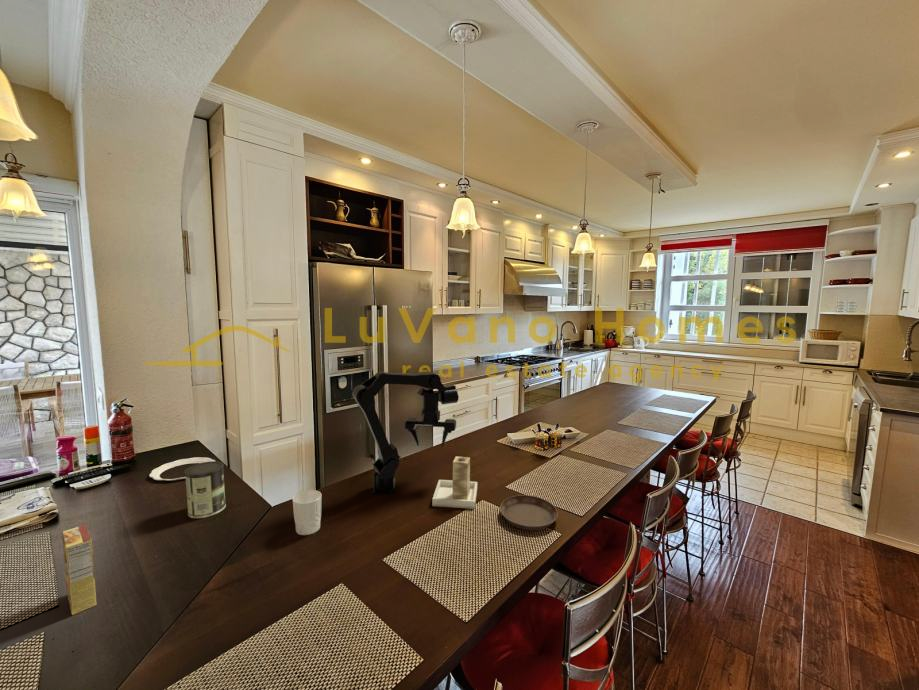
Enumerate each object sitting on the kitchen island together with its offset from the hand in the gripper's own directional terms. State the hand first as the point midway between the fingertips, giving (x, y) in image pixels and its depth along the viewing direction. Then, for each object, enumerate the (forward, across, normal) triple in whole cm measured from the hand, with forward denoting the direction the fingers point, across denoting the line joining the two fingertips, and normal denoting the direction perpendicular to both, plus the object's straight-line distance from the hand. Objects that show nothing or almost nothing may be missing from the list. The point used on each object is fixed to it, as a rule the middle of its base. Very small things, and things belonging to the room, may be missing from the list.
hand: (430, 446), depth 145 cm
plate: (+14, +97, +5) cm, 98 cm away
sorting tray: (+13, -11, +12) cm, 21 cm away
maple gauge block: (+12, -13, +12) cm, 22 cm away
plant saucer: (+14, -35, +22) cm, 43 cm away
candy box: (+13, +66, +68) cm, 96 cm away
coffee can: (+13, +67, +30) cm, 75 cm away
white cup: (+13, +30, +36) cm, 49 cm away
